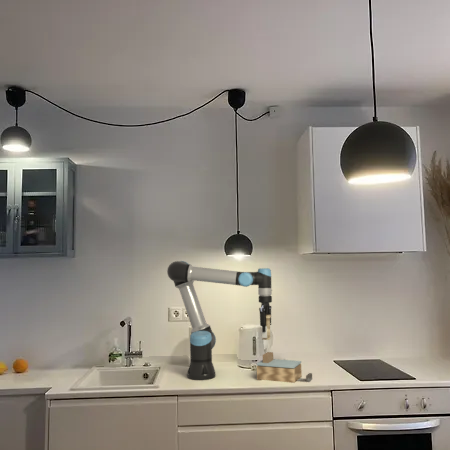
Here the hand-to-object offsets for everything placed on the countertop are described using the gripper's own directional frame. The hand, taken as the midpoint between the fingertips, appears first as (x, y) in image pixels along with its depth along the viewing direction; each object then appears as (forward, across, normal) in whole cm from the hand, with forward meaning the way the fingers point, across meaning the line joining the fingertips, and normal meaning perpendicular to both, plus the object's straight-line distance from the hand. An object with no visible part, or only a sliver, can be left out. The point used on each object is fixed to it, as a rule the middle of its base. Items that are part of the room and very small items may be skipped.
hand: (266, 337), depth 252 cm
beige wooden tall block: (+1, 0, 0) cm, 1 cm away
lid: (+11, -15, -13) cm, 22 cm away
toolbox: (+18, -15, -16) cm, 28 cm away
